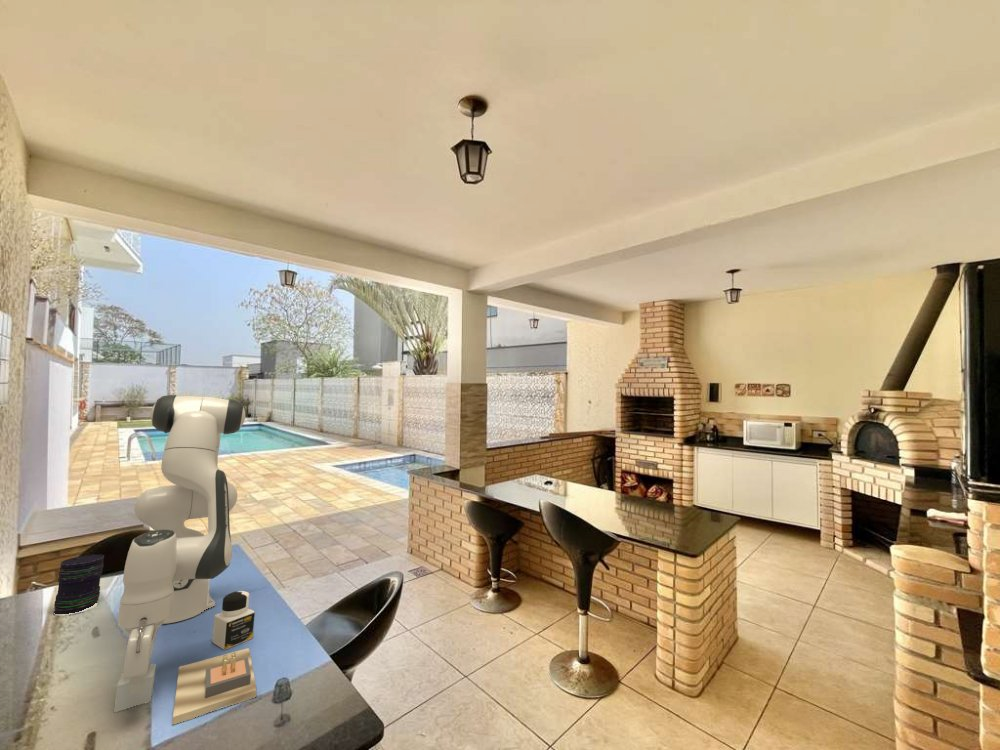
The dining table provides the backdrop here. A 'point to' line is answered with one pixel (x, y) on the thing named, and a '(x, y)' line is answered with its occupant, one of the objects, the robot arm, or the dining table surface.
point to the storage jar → (78, 583)
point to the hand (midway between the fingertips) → (138, 680)
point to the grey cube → (130, 700)
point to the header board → (196, 689)
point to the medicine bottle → (233, 621)
